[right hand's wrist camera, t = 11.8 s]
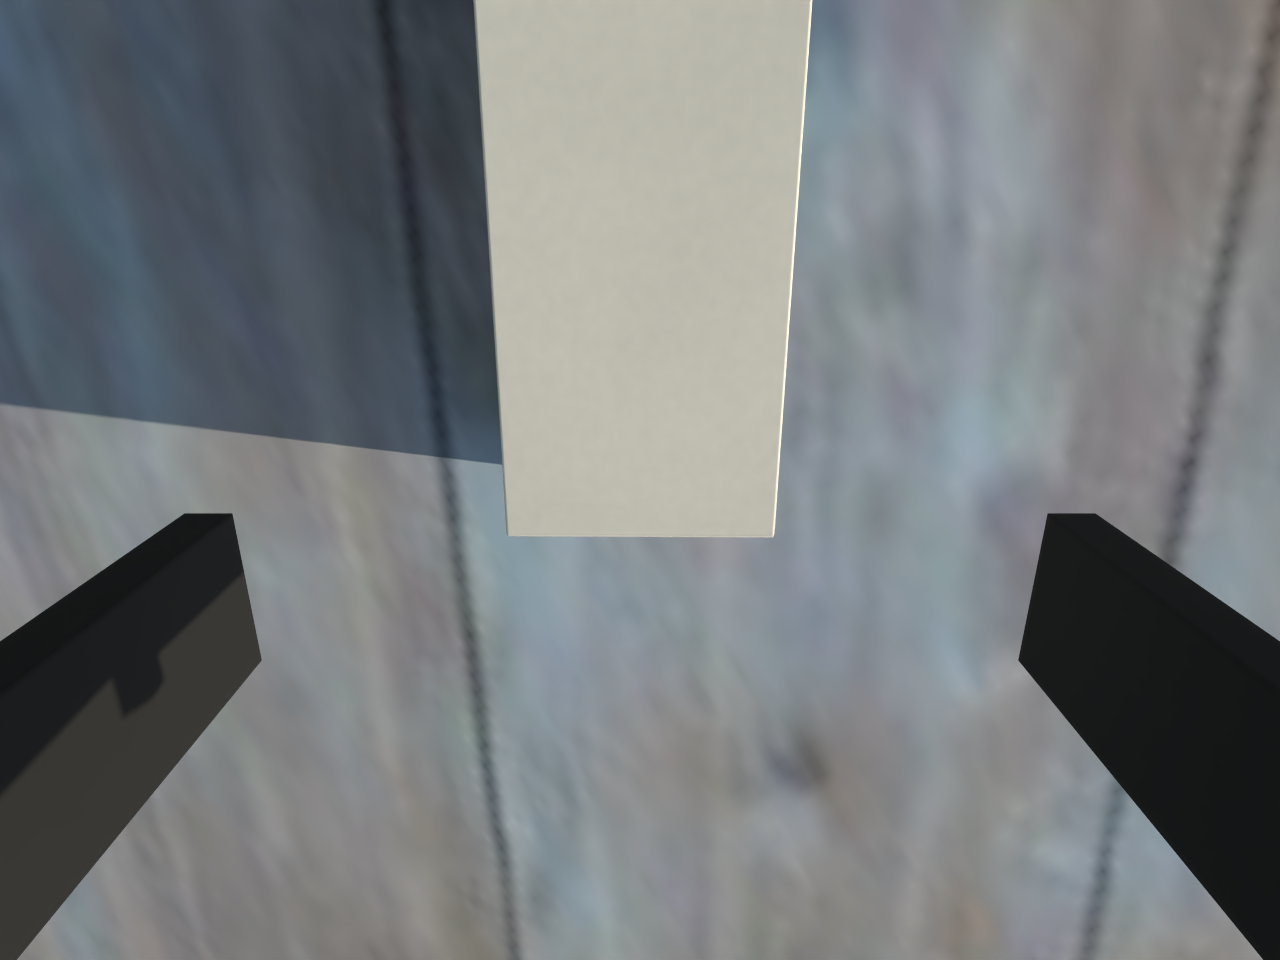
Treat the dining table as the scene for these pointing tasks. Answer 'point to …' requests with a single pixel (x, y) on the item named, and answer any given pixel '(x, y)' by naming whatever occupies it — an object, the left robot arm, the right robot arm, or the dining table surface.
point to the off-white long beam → (641, 257)
